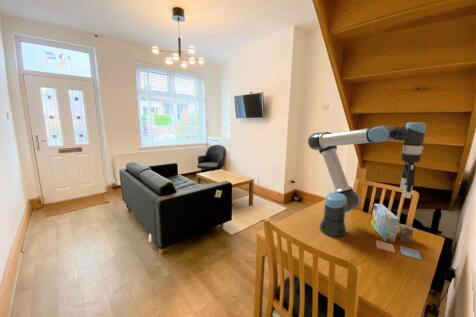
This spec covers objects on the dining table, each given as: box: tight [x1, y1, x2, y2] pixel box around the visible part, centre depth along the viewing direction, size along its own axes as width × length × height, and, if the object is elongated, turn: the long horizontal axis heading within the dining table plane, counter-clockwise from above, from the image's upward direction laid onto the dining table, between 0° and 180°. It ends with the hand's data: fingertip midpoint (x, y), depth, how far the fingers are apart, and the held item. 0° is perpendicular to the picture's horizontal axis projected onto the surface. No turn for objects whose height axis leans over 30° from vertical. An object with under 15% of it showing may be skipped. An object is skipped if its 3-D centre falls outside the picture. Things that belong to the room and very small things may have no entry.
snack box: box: [370, 203, 400, 244], centre depth 127 cm, size 21×6×15 cm, turn 168°
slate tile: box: [399, 245, 423, 261], centre depth 109 cm, size 8×8×1 cm
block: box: [398, 223, 415, 244], centre depth 120 cm, size 5×5×8 cm
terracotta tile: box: [375, 239, 396, 253], centre depth 114 cm, size 8×8×1 cm
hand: (404, 193), depth 108 cm, fingers open, 13 cm apart
